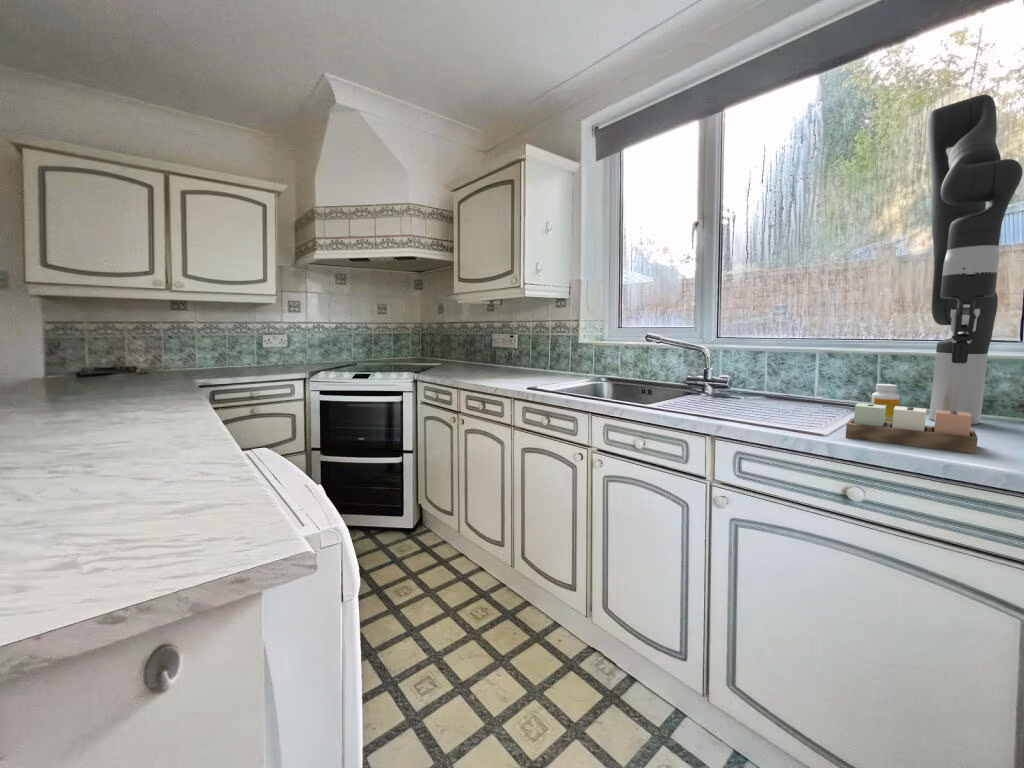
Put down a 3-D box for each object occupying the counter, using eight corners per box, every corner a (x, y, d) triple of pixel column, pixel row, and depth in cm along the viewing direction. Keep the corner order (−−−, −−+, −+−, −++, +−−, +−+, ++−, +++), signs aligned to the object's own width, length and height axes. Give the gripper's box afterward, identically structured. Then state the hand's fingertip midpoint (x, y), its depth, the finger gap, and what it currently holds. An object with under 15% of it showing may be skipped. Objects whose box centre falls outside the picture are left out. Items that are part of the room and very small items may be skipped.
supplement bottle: (902, 426, 110) (906, 386, 109) (876, 425, 111) (880, 385, 110) (888, 421, 115) (892, 383, 114) (864, 420, 116) (868, 383, 115)
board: (845, 437, 99) (846, 423, 99) (850, 430, 106) (852, 417, 106) (975, 454, 86) (977, 438, 86) (972, 444, 92) (974, 430, 92)
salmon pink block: (934, 432, 91) (936, 412, 91) (934, 428, 95) (936, 408, 94) (969, 436, 88) (972, 415, 87) (968, 432, 91) (970, 411, 91)
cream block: (891, 428, 95) (893, 408, 95) (893, 424, 99) (895, 405, 99) (924, 431, 92) (926, 411, 92) (924, 427, 96) (926, 407, 95)
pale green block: (853, 423, 100) (855, 404, 99) (856, 420, 103) (857, 402, 103) (882, 427, 96) (884, 407, 96) (884, 423, 100) (886, 404, 100)
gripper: (942, 277, 95) (932, 360, 97) (943, 271, 85) (932, 364, 87) (994, 274, 90) (983, 362, 92) (1001, 267, 80) (989, 366, 82)
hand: (958, 362), depth 90 cm, fingers closed
